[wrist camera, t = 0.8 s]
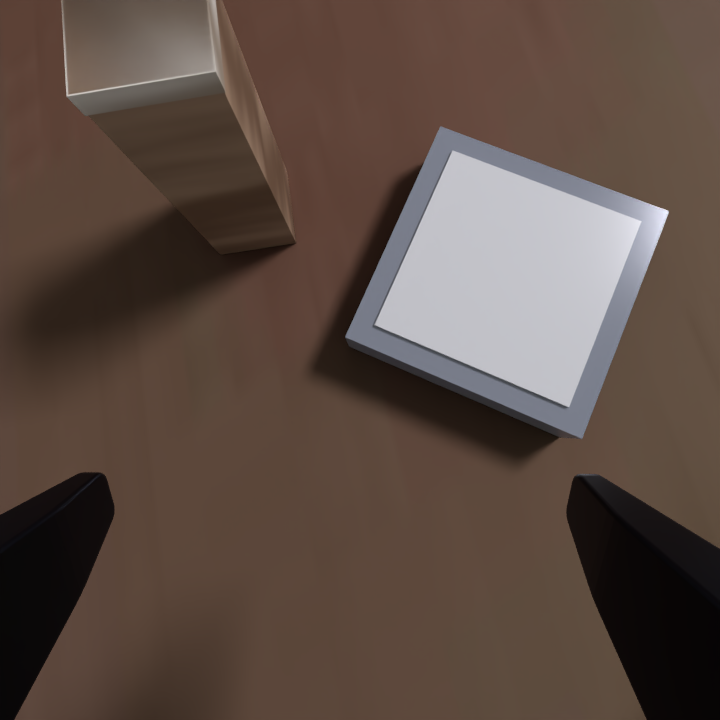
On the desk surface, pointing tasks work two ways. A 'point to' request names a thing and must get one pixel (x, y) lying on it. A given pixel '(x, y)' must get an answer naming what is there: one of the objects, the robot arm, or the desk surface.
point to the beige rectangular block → (182, 112)
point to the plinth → (508, 283)
